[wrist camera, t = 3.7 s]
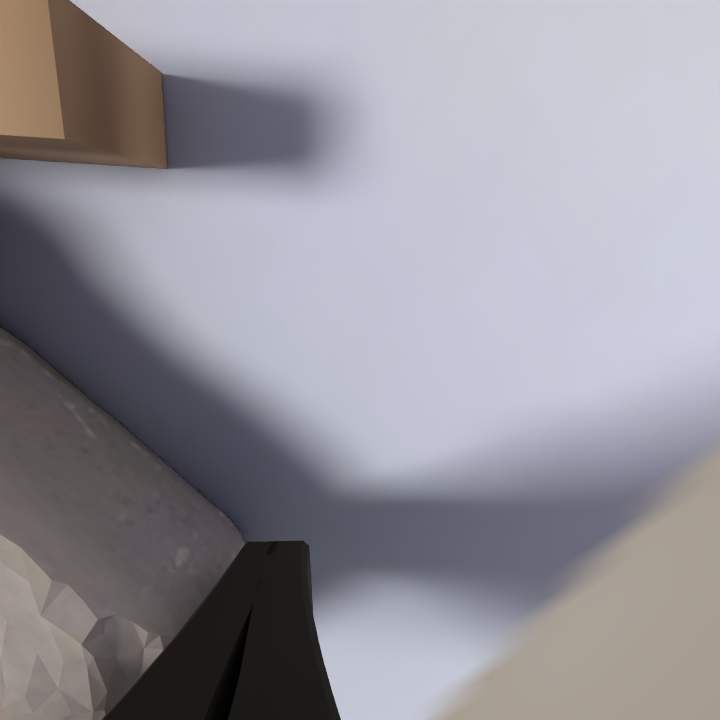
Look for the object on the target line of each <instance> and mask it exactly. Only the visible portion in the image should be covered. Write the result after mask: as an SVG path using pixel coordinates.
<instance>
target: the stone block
mask: <svg viewBox="0 0 720 720" xmlns="http://www.w3.org/2000/svg"><path fill="white" fill-rule="evenodd" d="M244 545H245V544H244V541H243V538H242V535H241V533H240V532H239V531H238V529H237V528H236V527H235V525H234V524H233V523H232V521H231V520H230V519H229V518H228V517H227V516H226V515H225V514H224V513H223V512H222V511H220V510H219V509H218V508H217V507H216V506H215V505H213V504H212V503H211V502H210V501H209V500H208V499H206V498H205V497H204V496H203V495H202V494H201V493H199V492H198V491H197V490H196V489H195V488H194V487H192V486H191V485H190V484H189V483H188V482H187V481H185V480H184V479H183V478H182V477H181V476H180V475H179V474H177V473H176V472H175V471H174V470H173V469H172V468H171V467H169V466H168V465H167V464H166V463H165V462H164V461H163V460H161V459H160V458H159V457H158V456H157V455H156V454H154V453H153V452H152V451H151V450H150V449H149V448H147V447H146V446H145V445H144V444H143V443H142V442H140V441H139V440H138V439H137V438H136V437H135V436H133V435H132V434H131V433H130V432H129V431H128V430H127V429H125V428H124V427H123V426H122V425H121V424H120V423H119V422H118V421H116V420H115V419H114V418H113V417H112V416H111V415H109V414H108V413H106V412H105V411H104V410H102V409H101V408H99V407H98V406H96V405H95V404H94V403H92V402H91V401H90V400H89V399H88V398H87V397H86V396H85V395H84V394H82V393H81V392H80V391H79V390H78V389H77V388H76V387H75V386H74V385H73V384H72V383H71V382H69V381H68V380H67V379H66V378H65V377H63V376H62V375H61V374H60V373H59V372H57V371H56V370H55V369H54V368H53V367H52V366H50V365H49V364H48V363H47V362H46V361H45V360H43V359H42V358H41V357H40V356H39V355H38V354H36V353H35V352H34V351H33V350H32V349H31V348H30V347H28V346H27V345H26V344H24V343H23V342H21V341H20V340H18V339H17V338H15V337H14V336H12V335H11V334H9V333H8V332H6V331H5V330H3V329H2V328H0V720H101V719H102V718H103V717H104V716H105V715H106V714H107V713H108V712H109V711H110V710H111V709H112V708H113V706H114V705H115V704H116V703H117V702H118V701H119V700H120V699H121V698H122V697H123V696H124V695H125V693H126V692H127V691H128V690H129V689H130V688H131V687H132V686H133V684H134V683H135V682H136V681H137V680H138V679H139V678H140V676H141V675H142V674H143V673H144V672H145V671H146V670H147V668H148V667H149V666H150V665H151V664H152V663H153V661H154V660H155V659H156V658H157V657H158V656H159V655H160V653H161V652H162V651H163V650H164V649H165V648H166V647H167V645H168V644H169V643H170V642H171V641H172V639H173V638H174V637H175V636H176V635H177V633H178V632H179V631H180V629H181V628H182V627H183V626H184V624H185V623H186V622H187V621H188V619H189V618H190V617H191V616H192V614H193V613H194V612H195V611H196V609H197V608H198V607H199V606H200V604H201V603H202V602H203V601H204V599H205V598H206V597H207V595H208V594H209V593H210V591H211V590H212V589H213V587H214V586H215V585H216V583H217V582H218V581H219V579H220V578H221V577H222V575H223V574H224V573H225V571H226V570H227V568H228V567H229V566H230V564H231V563H232V561H233V560H234V559H235V557H236V556H237V554H238V553H239V552H240V550H241V549H242V547H243V546H244Z"/></svg>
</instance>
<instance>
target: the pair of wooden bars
mask: <svg viewBox="0 0 720 720" xmlns="http://www.w3.org/2000/svg"><path fill="white" fill-rule="evenodd" d="M0 158H9V159H24V160H40V161H55V162H71V163H86V164H102V165H117V166H133V167H148V168H163V169H167V154H166V138H165V122H164V106H163V90H162V73H161V72H160V71H159V70H157V69H156V68H155V67H153V66H152V65H151V64H150V63H148V62H147V61H146V60H145V59H143V58H142V57H141V56H139V55H138V54H137V53H136V52H134V51H133V50H132V49H131V48H129V47H128V46H127V45H125V44H124V43H123V42H122V41H120V40H119V39H118V38H117V37H115V36H114V35H113V34H111V33H110V32H109V31H108V30H106V29H105V28H104V27H103V26H101V25H100V24H99V23H97V22H96V21H95V20H94V19H92V18H91V17H90V16H89V15H87V14H86V13H85V12H83V11H82V10H81V9H80V8H78V7H77V6H76V5H75V4H73V3H72V2H71V1H69V0H0Z"/></svg>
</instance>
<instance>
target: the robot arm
mask: <svg viewBox="0 0 720 720" xmlns="http://www.w3.org/2000/svg"><path fill="white" fill-rule="evenodd" d="M101 720H341V719H340V716H339V713H338V709H337V706H336V703H335V700H334V696H333V693H332V690H331V686H330V683H329V679H328V676H327V672H326V668H325V665H324V661H323V657H322V653H321V649H320V645H319V641H318V636H317V631H316V627H315V622H314V617H313V604H312V587H311V569H310V552H309V545H308V544H307V543H305V542H304V541H268V542H247V543H246V544H245V545H244V546H243V547H242V549H241V550H240V552H239V553H238V554H237V556H236V557H235V559H234V560H233V561H232V563H231V564H230V566H229V567H228V568H227V570H226V571H225V573H224V574H223V575H222V577H221V578H220V579H219V581H218V582H217V583H216V585H215V586H214V587H213V589H212V590H211V591H210V593H209V594H208V595H207V597H206V598H205V599H204V601H203V602H202V603H201V604H200V606H199V607H198V608H197V609H196V611H195V612H194V613H193V614H192V616H191V617H190V618H189V619H188V621H187V622H186V623H185V624H184V626H183V627H182V628H181V629H180V631H179V632H178V633H177V635H176V636H175V637H174V638H173V639H172V641H171V642H170V643H169V644H168V645H167V647H166V648H165V649H164V650H163V651H162V652H161V653H160V655H159V656H158V657H157V658H156V659H155V660H154V661H153V663H152V664H151V665H150V666H149V667H148V668H147V670H146V671H145V672H144V673H143V674H142V675H141V676H140V678H139V679H138V680H137V681H136V682H135V683H134V684H133V686H132V687H131V688H130V689H129V690H128V691H127V692H126V693H125V695H124V696H123V697H122V698H121V699H120V700H119V701H118V702H117V703H116V704H115V705H114V706H113V708H112V709H111V710H110V711H109V712H108V713H107V714H106V715H105V716H104V717H103V718H102V719H101Z"/></svg>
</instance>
